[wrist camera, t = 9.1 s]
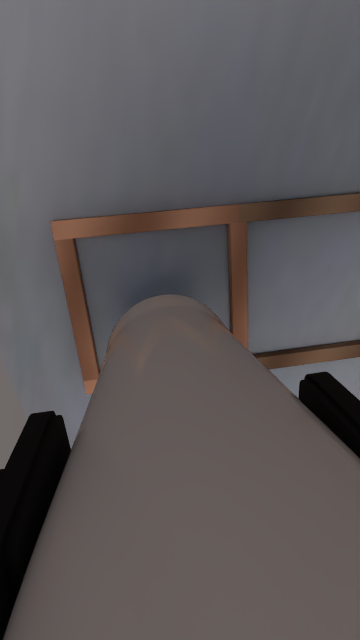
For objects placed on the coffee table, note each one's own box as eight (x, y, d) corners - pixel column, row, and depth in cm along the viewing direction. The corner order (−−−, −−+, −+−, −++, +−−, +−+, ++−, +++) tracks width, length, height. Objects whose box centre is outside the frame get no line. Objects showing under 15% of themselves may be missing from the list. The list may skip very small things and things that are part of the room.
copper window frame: (546, 176, 22) (557, 175, 21) (501, 333, 25) (510, 336, 25) (52, 220, 19) (50, 221, 18) (87, 389, 23) (86, 394, 22)
